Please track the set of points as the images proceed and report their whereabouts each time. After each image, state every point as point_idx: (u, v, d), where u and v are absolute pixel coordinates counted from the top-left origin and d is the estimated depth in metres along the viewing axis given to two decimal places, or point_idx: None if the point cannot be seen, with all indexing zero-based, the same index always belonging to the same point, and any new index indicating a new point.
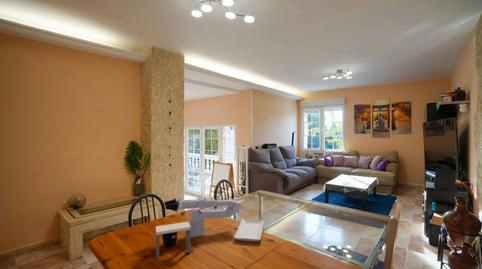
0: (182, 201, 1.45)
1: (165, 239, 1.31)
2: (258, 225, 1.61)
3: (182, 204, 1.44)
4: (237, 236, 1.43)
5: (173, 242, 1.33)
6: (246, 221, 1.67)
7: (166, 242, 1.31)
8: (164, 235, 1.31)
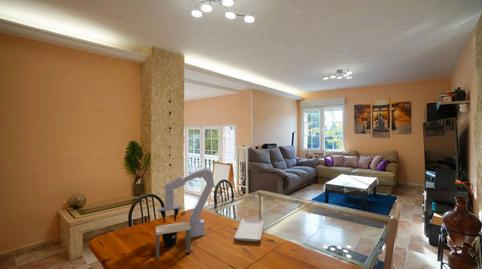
0: None
1: (165, 239, 1.31)
2: (258, 225, 1.61)
3: None
4: (237, 236, 1.42)
5: (173, 242, 1.33)
6: (246, 221, 1.67)
7: (166, 242, 1.31)
8: (164, 235, 1.31)
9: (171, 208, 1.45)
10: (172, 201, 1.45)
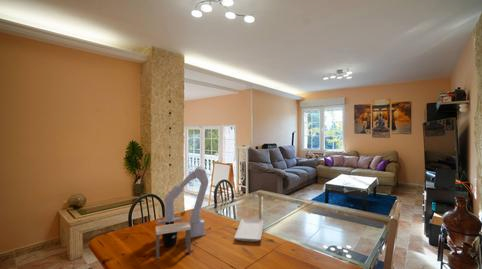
0: None
1: (165, 239, 1.31)
2: (258, 225, 1.62)
3: None
4: (237, 236, 1.42)
5: (173, 242, 1.33)
6: (245, 221, 1.67)
7: (166, 242, 1.31)
8: (164, 235, 1.31)
9: (171, 220, 1.45)
10: (172, 213, 1.46)
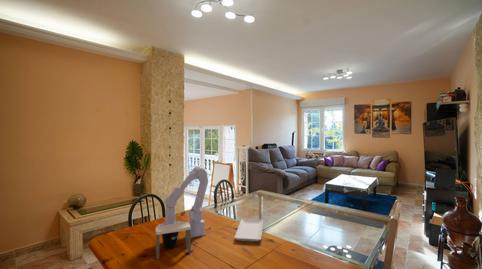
0: None
1: (165, 240, 1.30)
2: (257, 225, 1.62)
3: None
4: (237, 236, 1.42)
5: (173, 243, 1.31)
6: (245, 221, 1.67)
7: (166, 243, 1.30)
8: (164, 236, 1.30)
9: None
10: (173, 217, 1.40)
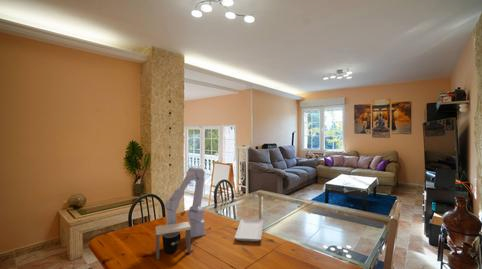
0: None
1: (164, 245, 1.24)
2: (257, 225, 1.62)
3: None
4: (237, 236, 1.42)
5: (173, 249, 1.25)
6: (245, 221, 1.67)
7: (165, 248, 1.24)
8: (163, 241, 1.24)
9: None
10: (174, 221, 1.33)
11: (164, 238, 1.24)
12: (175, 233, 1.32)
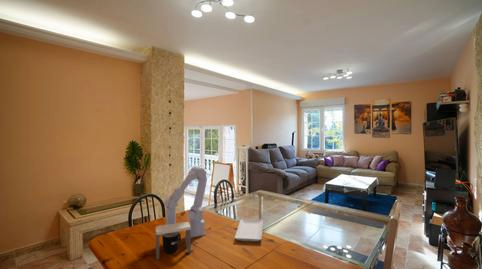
0: None
1: (164, 245, 1.25)
2: (257, 225, 1.62)
3: None
4: (237, 236, 1.42)
5: (172, 249, 1.25)
6: (245, 221, 1.67)
7: (165, 248, 1.25)
8: (163, 240, 1.25)
9: None
10: (174, 218, 1.37)
11: (164, 238, 1.25)
12: (175, 233, 1.32)
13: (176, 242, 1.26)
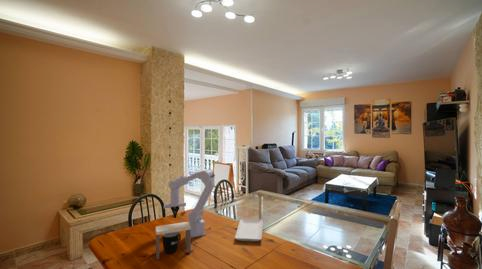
0: None
1: (164, 245, 1.25)
2: (257, 225, 1.62)
3: None
4: (237, 236, 1.42)
5: (172, 249, 1.25)
6: (244, 221, 1.67)
7: (165, 248, 1.25)
8: (163, 240, 1.25)
9: (176, 204, 1.52)
10: (177, 198, 1.53)
11: (164, 238, 1.25)
12: (175, 233, 1.32)
13: (176, 242, 1.26)
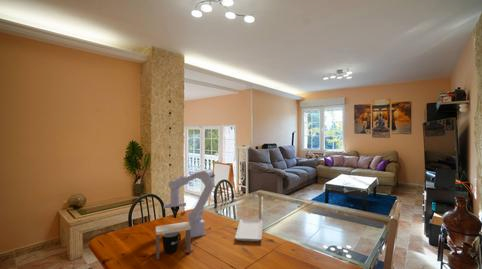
0: None
1: (164, 245, 1.25)
2: (257, 225, 1.62)
3: None
4: (237, 236, 1.42)
5: (172, 249, 1.25)
6: (244, 221, 1.67)
7: (165, 248, 1.25)
8: (163, 240, 1.25)
9: (176, 204, 1.52)
10: (177, 198, 1.53)
11: (164, 238, 1.25)
12: (175, 233, 1.32)
13: (176, 242, 1.26)
